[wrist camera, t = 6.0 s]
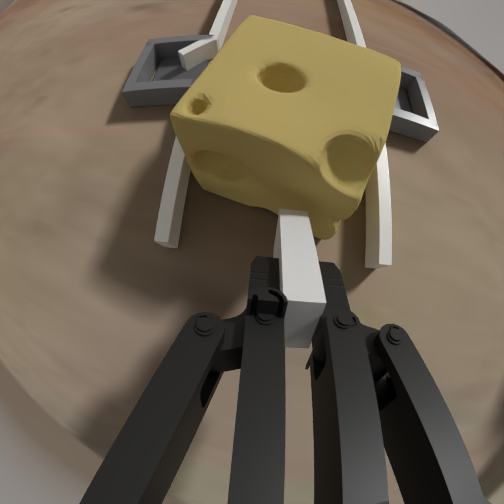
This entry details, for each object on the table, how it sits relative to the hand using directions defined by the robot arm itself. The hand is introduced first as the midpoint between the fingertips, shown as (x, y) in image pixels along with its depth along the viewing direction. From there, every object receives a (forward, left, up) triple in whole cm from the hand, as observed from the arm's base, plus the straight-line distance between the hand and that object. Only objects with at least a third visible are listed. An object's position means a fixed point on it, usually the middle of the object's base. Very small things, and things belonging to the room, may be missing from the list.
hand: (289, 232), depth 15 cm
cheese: (0, -7, -5) cm, 9 cm away
